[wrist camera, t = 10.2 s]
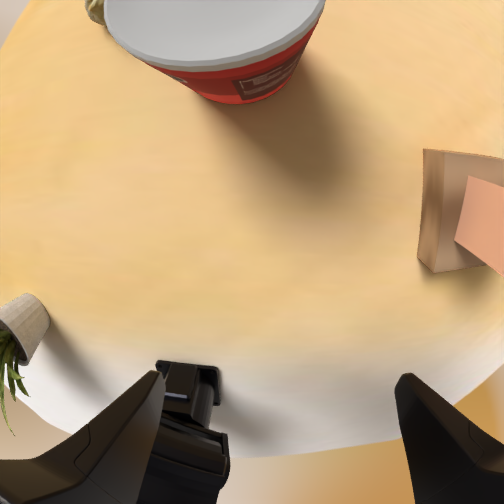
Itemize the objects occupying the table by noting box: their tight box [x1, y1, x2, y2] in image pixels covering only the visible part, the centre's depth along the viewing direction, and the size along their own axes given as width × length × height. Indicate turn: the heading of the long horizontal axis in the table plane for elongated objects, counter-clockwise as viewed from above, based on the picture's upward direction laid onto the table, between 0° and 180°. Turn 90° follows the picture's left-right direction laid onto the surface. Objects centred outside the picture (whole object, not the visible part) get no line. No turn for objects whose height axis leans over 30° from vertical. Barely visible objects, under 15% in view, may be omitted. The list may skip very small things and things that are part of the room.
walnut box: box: [417, 149, 504, 273], centre depth 17 cm, size 9×9×4 cm
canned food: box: [104, 0, 325, 104], centre depth 10 cm, size 8×8×11 cm
